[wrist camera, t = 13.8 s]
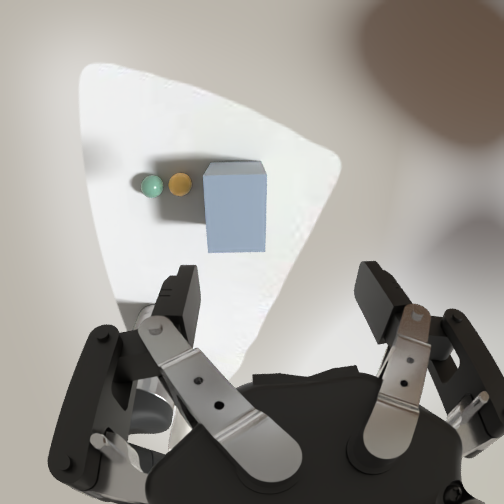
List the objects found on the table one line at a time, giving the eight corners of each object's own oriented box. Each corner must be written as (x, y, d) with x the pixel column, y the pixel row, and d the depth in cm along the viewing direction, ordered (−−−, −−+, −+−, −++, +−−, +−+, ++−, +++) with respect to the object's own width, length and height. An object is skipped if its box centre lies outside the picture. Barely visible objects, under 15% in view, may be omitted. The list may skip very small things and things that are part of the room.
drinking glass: (174, 404, 61) (167, 454, 48) (175, 392, 58) (167, 446, 44) (200, 409, 62) (196, 458, 49) (202, 397, 59) (198, 451, 45)
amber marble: (194, 191, 35) (190, 198, 33) (172, 193, 35) (167, 199, 33) (192, 170, 34) (188, 175, 31) (170, 171, 34) (164, 176, 31)
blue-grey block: (211, 162, 33) (202, 175, 26) (261, 161, 34) (266, 174, 27) (214, 224, 38) (208, 252, 31) (260, 224, 38) (265, 251, 31)
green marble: (166, 193, 35) (161, 200, 32) (146, 194, 35) (139, 201, 32) (164, 171, 34) (158, 177, 31) (144, 173, 34) (136, 179, 31)
